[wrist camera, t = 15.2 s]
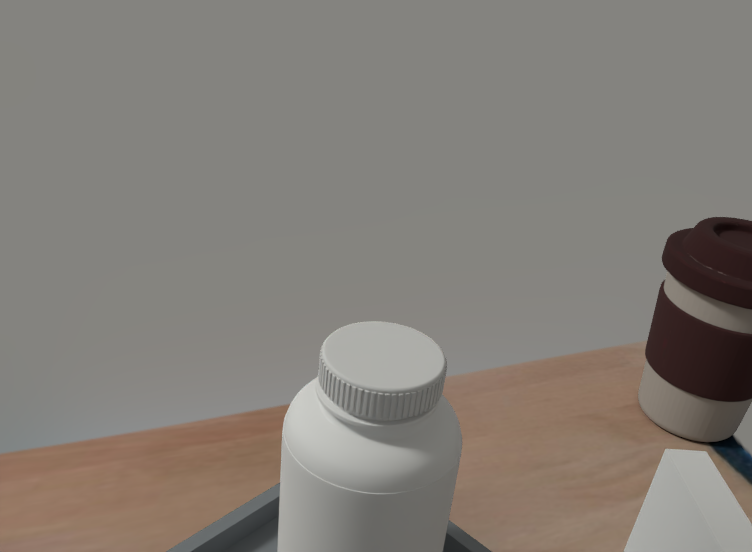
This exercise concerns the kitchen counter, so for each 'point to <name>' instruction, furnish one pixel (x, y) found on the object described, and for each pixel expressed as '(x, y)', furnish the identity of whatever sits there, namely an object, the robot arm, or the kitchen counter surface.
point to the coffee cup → (702, 333)
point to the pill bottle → (370, 447)
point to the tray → (260, 530)
